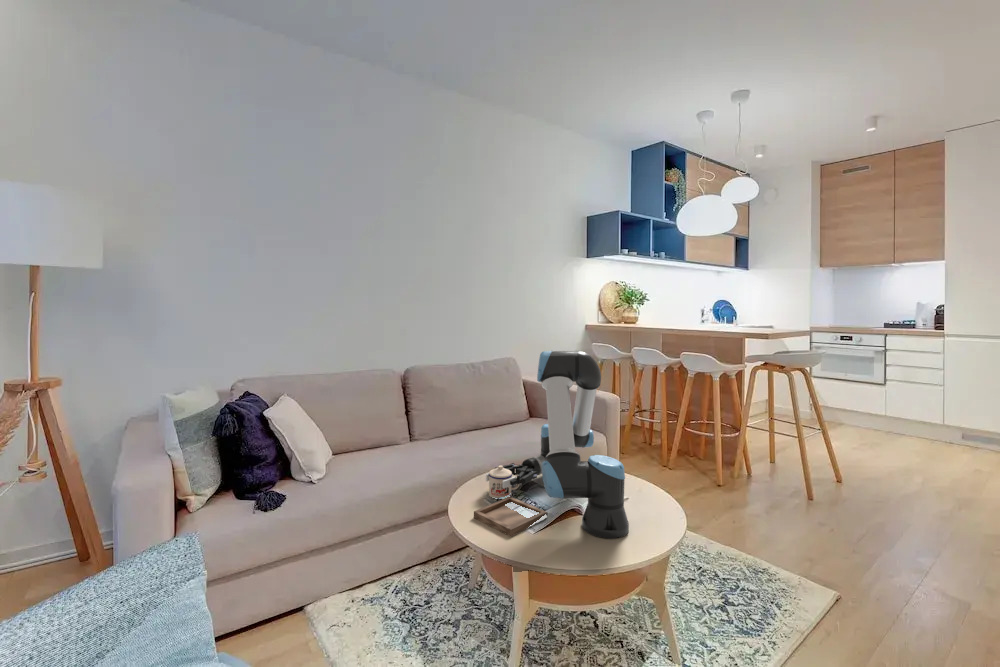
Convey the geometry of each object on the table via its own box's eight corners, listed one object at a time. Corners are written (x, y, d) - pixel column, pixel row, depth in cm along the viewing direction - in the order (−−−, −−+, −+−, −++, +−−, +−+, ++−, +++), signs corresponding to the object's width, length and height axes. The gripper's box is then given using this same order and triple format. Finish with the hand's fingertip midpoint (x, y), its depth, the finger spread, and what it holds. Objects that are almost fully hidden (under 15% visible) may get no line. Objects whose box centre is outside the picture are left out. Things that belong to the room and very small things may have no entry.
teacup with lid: (487, 500, 176) (488, 470, 176) (488, 490, 186) (489, 461, 185) (519, 500, 176) (520, 470, 175) (519, 490, 185) (519, 462, 184)
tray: (547, 518, 162) (547, 512, 162) (510, 536, 149) (511, 529, 149) (510, 502, 175) (510, 496, 175) (473, 517, 162) (473, 511, 162)
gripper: (554, 482, 186) (514, 499, 171) (515, 468, 202) (476, 482, 186) (554, 464, 186) (514, 479, 170) (515, 451, 201) (476, 464, 185)
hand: (494, 481), depth 178 cm, fingers closed on teacup with lid, 8 cm apart
